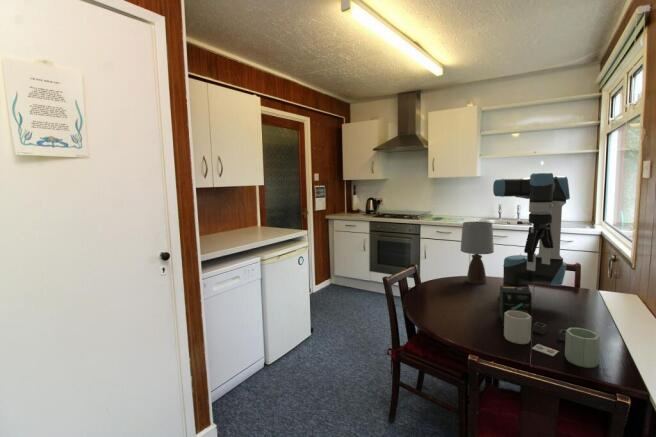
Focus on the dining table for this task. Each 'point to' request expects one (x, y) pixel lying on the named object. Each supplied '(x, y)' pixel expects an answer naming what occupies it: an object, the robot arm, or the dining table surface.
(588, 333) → the beaker sage
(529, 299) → the tampon box
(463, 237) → the lamp
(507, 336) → the beaker cream
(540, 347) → the card
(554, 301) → the dining table surface
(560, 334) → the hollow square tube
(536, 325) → the cradle grey
